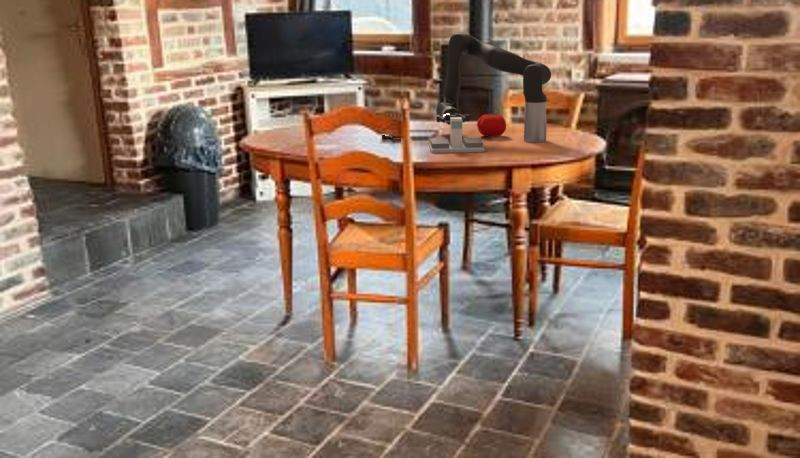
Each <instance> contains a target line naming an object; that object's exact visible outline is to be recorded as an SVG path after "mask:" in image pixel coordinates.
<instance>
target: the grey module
mask: <svg viewBox="0 0 800 458" xmlns="http://www.w3.org/2000/svg"><path fill="white" fill-rule="evenodd" d="M449 128H450V129H449V132H450V135H449V136H450V139H449V140H450V141H449V143H450V146H451V148H462V143H463V122H462V118H461V117H450V125H449Z"/></svg>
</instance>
